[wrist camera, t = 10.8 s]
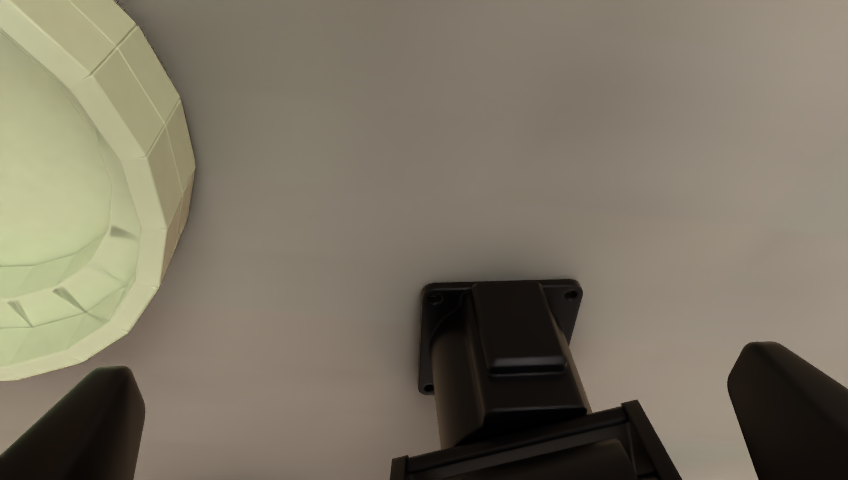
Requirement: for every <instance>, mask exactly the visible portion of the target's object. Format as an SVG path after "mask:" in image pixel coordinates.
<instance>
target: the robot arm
mask: <svg viewBox="0 0 848 480" xmlns="http://www.w3.org/2000/svg"><path fill="white" fill-rule="evenodd" d="M571 290H573V291H571ZM568 291H571V292H570V293H566V292H568ZM434 294H437V295H438V296H436V297H432V296H431V295H434ZM582 296H583V291H582V288H581V286H580V284H579V282H578V281H576V280H572V279H560V280H522V281H484V282H446V283H431V284H428V285H426V286H425V287H424V288H423V290H422V298H421V320H420V342H419V363H418V389H419V392H420V393H422V394H424V395H435V400H436V409H437V417H438V426H439V435H440V443H441V450H438V451H434V452H430V453H426V454H422V455H418V456H413V457H408V455H406V456H402V457H398V458H394V459H392V466H391V475H390V480H682V478H681V477H680V475H679V473H678V471H677V470H676V468H675V466H674V464H673V462H672V461H671V459H670V457H669V455H668V453H667V452H666V450H665V448H664V446H663V444H662V443H661V441H660V439H659V437H658V436H657V434H656V432H655V430H654V428H653V427H652V425H651V423H650V421H649V419H648V418H647V416H646V414H645V412H644V411H643V409H642V407H641V405H640V403H639V402H638V400H633V401H629V402H625V403H621V406H620V407H616V408H612V409H608V410H603V411H599V412H595V413H592V410H591V407H590V404H589V402H588V399H587V396H586V393H585V391H584V388H583V385H582V382H581V379H580V377H579V374H578V371H577V368H576V366H575V363H574V360H573V357H572V355H571V352H570V349H569V344H570V340H571V336H572V333H573V329H574V325H575V321H576V318H577V314H578V310H579V307H580V303H581V299H582ZM727 387H728V392H729V396H730V399H731V402H732V405H733V407H734V410H735V413H736V416H737V419H738V422H739V425H740V428H741V431H742V433H743V436H744V439H745V442H746V445H747V448H748V451H749V454H750V457H751V459H752V462H753V465H754V468H755V471H756V474H757V476H758V479H759V480H848V389H847V388H846V387H844V386H843V385H841V384H840V383H838V382H837V381H835V380H834V379H832V378H831V377H829V376H828V375H826V374H825V373H823V372H822V371H820V370H819V369H817V368H816V367H814V366H813V365H811V364H810V363H808V362H807V361H805V360H804V359H802V358H801V357H799V356H798V355H796V354H795V353H793V352H792V351H790V350H789V349H787V348H786V347H784V346H783V345H781V344H779V343H777V342H770V341H769V342H751V343H748V344H747V345H745V346H744V348H743V349H742V351H741V353H740V355H739V357H738V359H737V361H736V363H735V365H734V367H733V368H732V370H731V372H730V374H729V376H728V381H727ZM144 420H145V404H144V400H143V398H142V395H141V393H140V390H139V388H138V386H137V383H136V381H135V378H134V376H133V373H132V371H131V370H130V369H129V368H128V367H126V366H111V367H99V368H96V369H95V370H93V371H92V372H90V373H89V374H88V375H87V376H86V377H85V378H84V379H83V380H82V381H80V382H79V383H78V384H77V385H76V386H75V387H74V388H73V389H72V390H71V391H70V392H69V393H67V394H66V395H65V396H64V397H63V398H62V399H61V400H60V401H59V402H58V403H57V404H55V405H54V406H53V407H52V408H51V409H50V410H49V411H48V412H47V413H46V414H45V415H44V416H42V417H41V418H40V419H39V420H38V421H37V422H36V423H35V424H34V425H33V426H32V427H31V428H29V429H28V430H27V431H26V432H25V433H24V434H23V435H22V436H21V437H20V438H19V439H18V440H16V441H15V442H14V443H13V444H12V445H11V446H10V447H9V448H8V449H7V450H6V451H4V452H3V453H2V454H1V455H0V480H133V478H134V473H135V468H136V462H137V457H138V452H139V447H140V441H141V436H142V431H143V425H144Z"/></svg>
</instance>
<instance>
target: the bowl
mask: <svg viewBox="0 0 848 480" xmlns="http://www.w3.org/2000/svg"><path fill="white" fill-rule="evenodd" d="M195 167H196V166H195V159H194V155H193V150H192V146H191V142H190V137H189V133H188V128H187V124H186V120H185V115H184V111H183V106H182V102H181V100H180V96H179V94H178V93H177V91H176V89H175V87H174V86H173V84H172V82H171V81H170V79H169V77H168V76H167V74H166V72H165V70H164V69H163V67H162V65H161V64H160V62H159V60H158V58H157V57H156V55H155V53H154V52H153V50H152V48H151V46H150V45H149V43H148V41H147V40H146V38H145V36H144V34H143V33H142V31H141V29H140V28H139V26H136V23H135V22H134V21H133V20H132V19H131V18H130V17H129V16H128V15H127V14H126V13H125V12H124V11H123V10H122V9H121V8H120V7H119V6H118V5H117V4H116V3H115V2H114V1H113V0H0V381H16V380H19V379H24V378H28V377H32V376H36V375H39V374H43V373H47V372H50V371H54V370H58V369H62V368H65V367H69V366H73V365H76V364H79V363H82V362H84V361H86V360H87V359H89V358H90V357H92V356H93V355H95V354H97V353H98V352H100V351H101V350H103V349H104V348H106V347H107V346H109V345H111V344H112V343H114V342H115V341H117V340H118V339H120V338H122V337H123V336H125V335H126V334H128V333H129V331H131V329H132V328H133V327H134V325H135V324H136V322H137V321H138V319H139V318H140V316H141V315H142V313H143V312H144V310H145V309H146V307H147V306H148V304H149V303H150V301H151V300H152V298H153V297H154V295H155V294H156V292H157V291H158V290H159V288H160V285H161V283H162V280H163V278H164V275H165V273H166V270H167V268H168V266H169V263H170V261H171V258H172V256H173V253H174V251H175V248H176V246H177V243H178V241H179V238H180V236H181V233H182V231H183V228H184V226H185V223H186V221H187V218H188V212H189V206H190V200H191V193H192V187H193V180H194V174H195Z"/></svg>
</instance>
